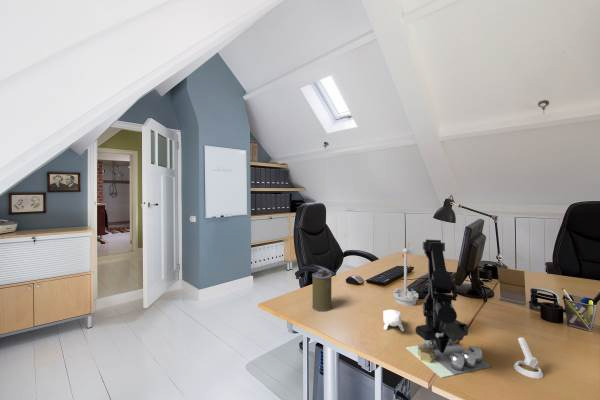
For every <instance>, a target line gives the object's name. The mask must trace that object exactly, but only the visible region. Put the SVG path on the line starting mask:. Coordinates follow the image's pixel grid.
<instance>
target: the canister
mask: <svg viewBox="0 0 600 400" xmlns="http://www.w3.org/2000/svg"><path fill="white" fill-rule="evenodd" d="M311 277H312V305H311V307H312V309H313V310H314V311H317V312H329V311H331V310H332V308H333V306H332V277H333V274H331V273H330V272H329V271H327V270H326V269H323V268H320V269H318V270H317V272H314V273H312V274H311Z"/></svg>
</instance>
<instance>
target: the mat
mask: <svg viewBox="0 0 600 400" xmlns="http://www.w3.org/2000/svg"><path fill="white" fill-rule="evenodd" d="M420 346H424V343H422V344H417V345H413V346H407V347H406V346H405V348H406V350H408V351H409V353H411V354H412V355H413V356H414V357H416V358H417V359H418V360H419V361H421V362H422V363H423V365H425V366H427V368H428V369H430V370H431V371H432V372H434V374H436V375H437V376H438V377H439V378H441V379H444V378H447V377H453V376H456V375H460V374H461V375H462V374H465V373H470V372H473V371H474V372H475V371H479V370H483V369H487V368H491V367H492V365H491V364H489V363H487V362H486V361H484V360H483V359H482V363H481V364H476V368H474V369H470V368H467V367H465V366H464V371H456V370H454V369H453V368H451V353H459V354H461V355H462V351H464V350H467V349H465V348H464V347H462V346H461V345H460V344H458V343H457V342H456V341H452V340H451V346H446V348H445V350H444V353H441V352H440V351H439V349H438V347H437V344H436V349H435V350H434V351H435V361H433V362H431V363H428V362H425V361H422V360H420V358H419V356H418V347H420Z"/></svg>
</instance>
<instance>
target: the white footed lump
mask: <svg viewBox="0 0 600 400" xmlns="http://www.w3.org/2000/svg"><path fill="white" fill-rule="evenodd" d="M382 312H383V313H382V317H383V318H382V319H383V324H384V325H383V330H384V331H387V330H388V326H390V327H398V328H399V330H400V332H404V331H405V328H404V326H403V324H402V313H401V312H400V311H398V310H394V309H386V310H383V311H382Z"/></svg>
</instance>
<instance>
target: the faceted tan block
mask: <svg viewBox="0 0 600 400" xmlns="http://www.w3.org/2000/svg"><path fill="white" fill-rule="evenodd" d="M418 356H419V358H420V360H419V361H421V360H422V361H425V362H428V363H431V362H433V361H435V351H434V350H433V349H432V348H431V347H427V346H420V347H418ZM422 361H421V362H422Z"/></svg>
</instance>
